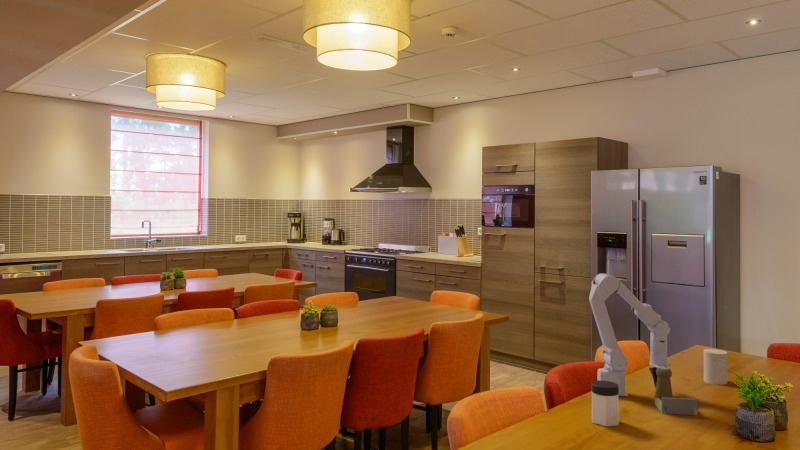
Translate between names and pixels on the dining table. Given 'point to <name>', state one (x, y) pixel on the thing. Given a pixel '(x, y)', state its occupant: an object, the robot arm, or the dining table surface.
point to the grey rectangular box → (677, 405)
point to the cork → (663, 383)
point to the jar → (605, 403)
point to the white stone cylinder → (715, 366)
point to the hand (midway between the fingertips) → (658, 388)
